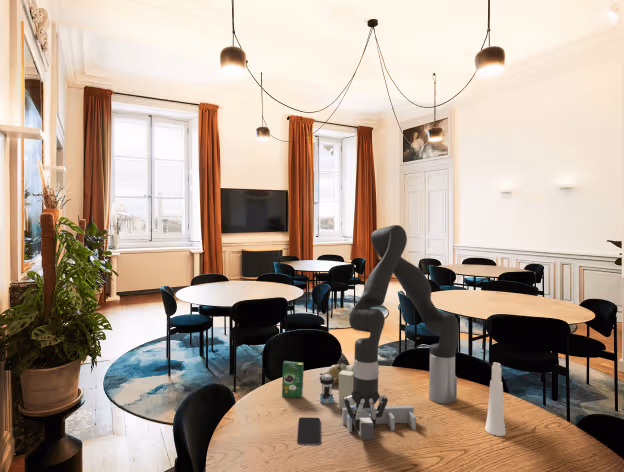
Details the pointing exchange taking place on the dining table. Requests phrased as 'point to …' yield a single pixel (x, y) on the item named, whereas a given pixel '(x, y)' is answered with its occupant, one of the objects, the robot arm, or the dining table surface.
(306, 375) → the dining table surface
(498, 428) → the cosmetic bottle
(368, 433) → the gray rectangular block
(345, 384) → the box
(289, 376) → the coffee box
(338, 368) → the ceramic sculpture
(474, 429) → the dining table surface
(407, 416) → the grey pronged rack
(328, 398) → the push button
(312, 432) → the smartphone
